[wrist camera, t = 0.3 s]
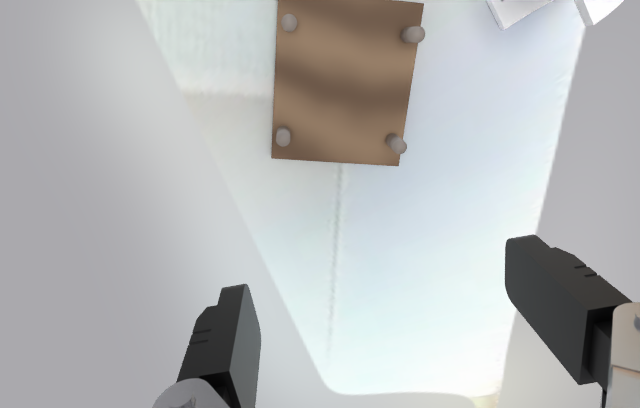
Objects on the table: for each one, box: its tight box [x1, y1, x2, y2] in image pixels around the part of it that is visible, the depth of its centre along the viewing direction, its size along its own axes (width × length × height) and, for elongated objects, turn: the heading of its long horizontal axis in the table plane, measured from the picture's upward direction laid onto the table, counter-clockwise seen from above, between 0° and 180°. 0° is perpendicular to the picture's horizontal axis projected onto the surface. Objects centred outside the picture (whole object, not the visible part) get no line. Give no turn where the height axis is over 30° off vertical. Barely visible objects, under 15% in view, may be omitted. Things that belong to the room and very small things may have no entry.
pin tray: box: [271, 0, 425, 166], centre depth 35 cm, size 14×12×4 cm
